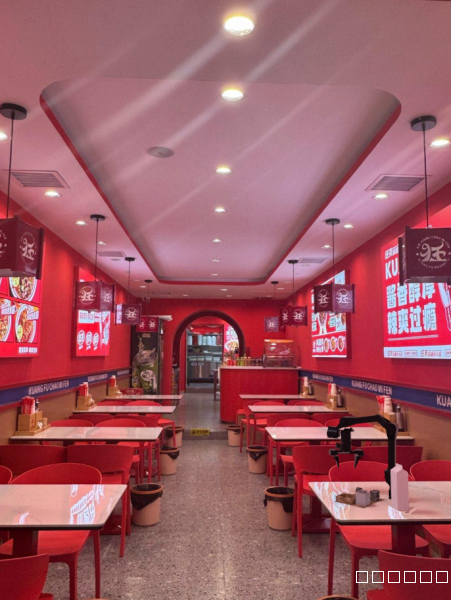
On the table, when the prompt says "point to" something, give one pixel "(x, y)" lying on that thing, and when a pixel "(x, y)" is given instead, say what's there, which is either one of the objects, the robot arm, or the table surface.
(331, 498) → the table surface
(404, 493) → the milk
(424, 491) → the table surface
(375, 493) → the frame
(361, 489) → the wheel
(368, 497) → the block
